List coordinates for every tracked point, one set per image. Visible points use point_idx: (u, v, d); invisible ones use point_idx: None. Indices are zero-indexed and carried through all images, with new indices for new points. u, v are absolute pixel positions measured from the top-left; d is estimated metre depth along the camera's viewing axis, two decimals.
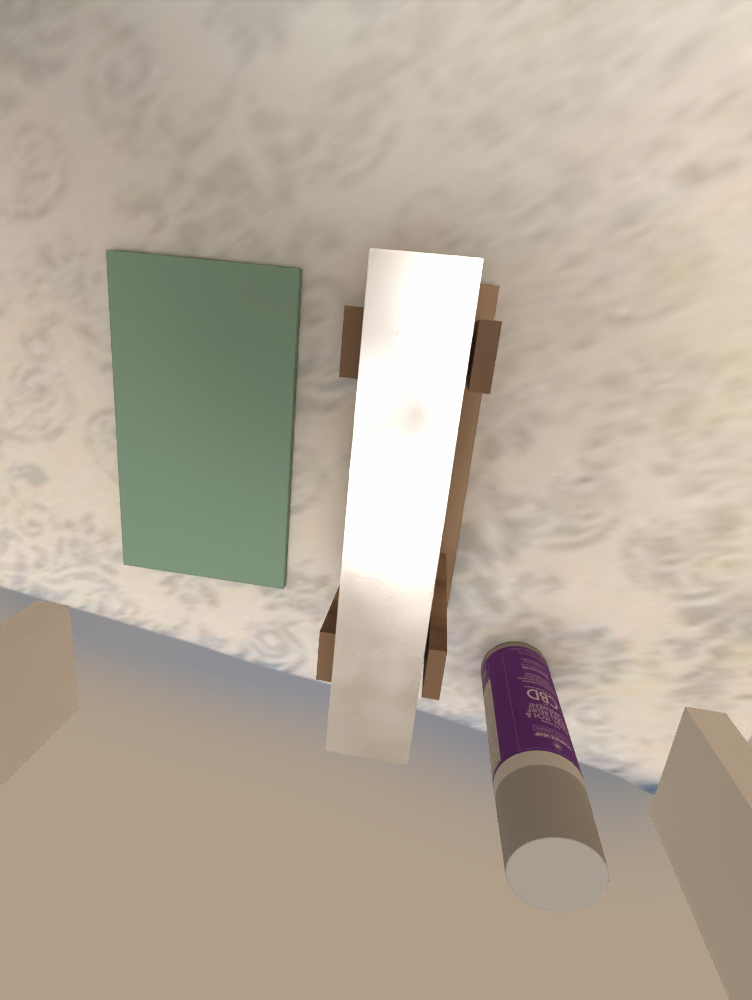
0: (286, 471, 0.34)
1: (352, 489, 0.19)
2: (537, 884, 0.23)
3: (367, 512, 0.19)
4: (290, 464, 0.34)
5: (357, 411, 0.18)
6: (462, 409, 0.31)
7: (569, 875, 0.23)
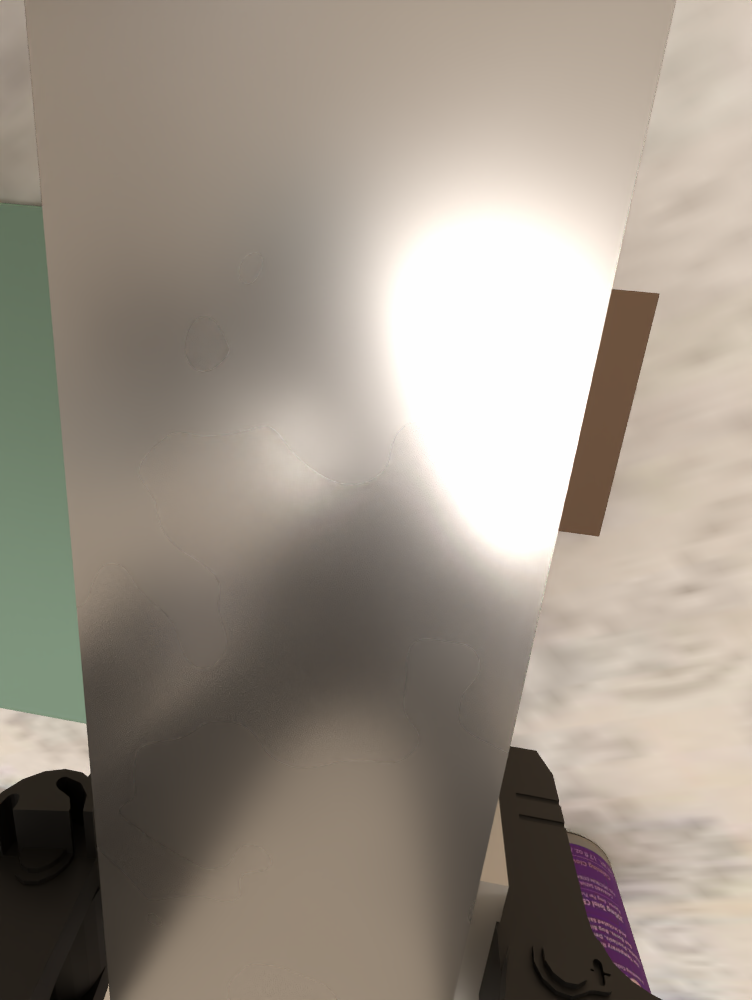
0: None
1: (114, 902, 0.05)
2: None
3: (176, 968, 0.05)
4: None
5: (91, 656, 0.04)
6: None
7: None
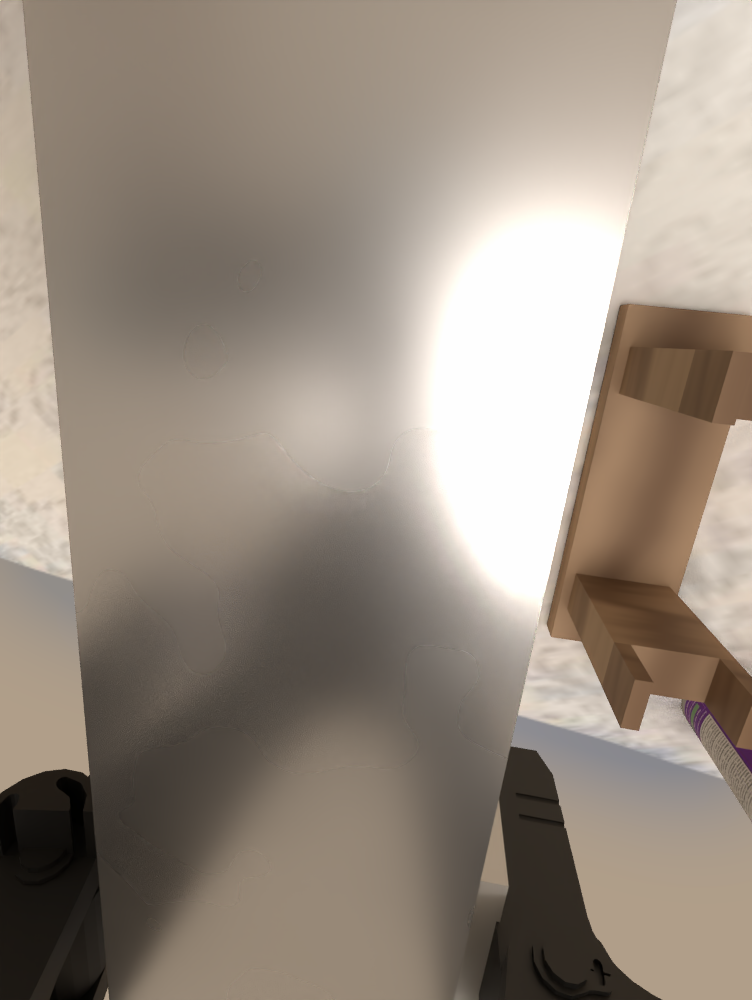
0: None
1: (114, 906, 0.05)
2: None
3: (175, 973, 0.05)
4: None
5: (91, 662, 0.04)
6: (707, 441, 0.30)
7: None
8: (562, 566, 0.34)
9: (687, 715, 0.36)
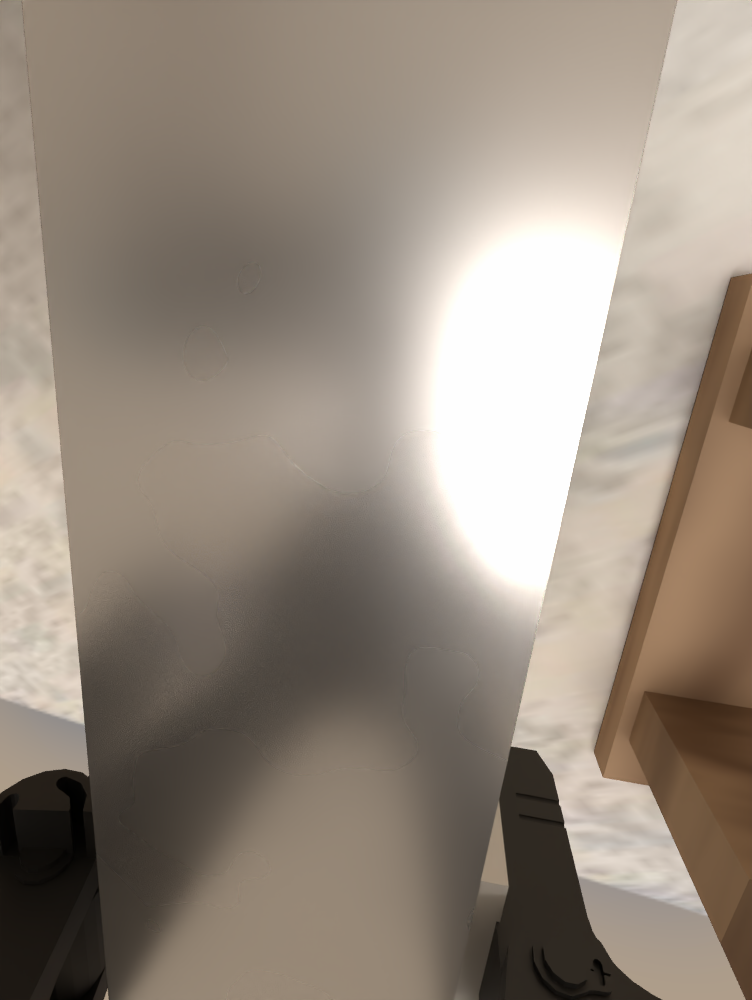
0: None
1: (113, 908, 0.05)
2: None
3: (175, 974, 0.05)
4: None
5: (90, 664, 0.04)
6: None
7: None
8: (620, 675, 0.23)
9: None
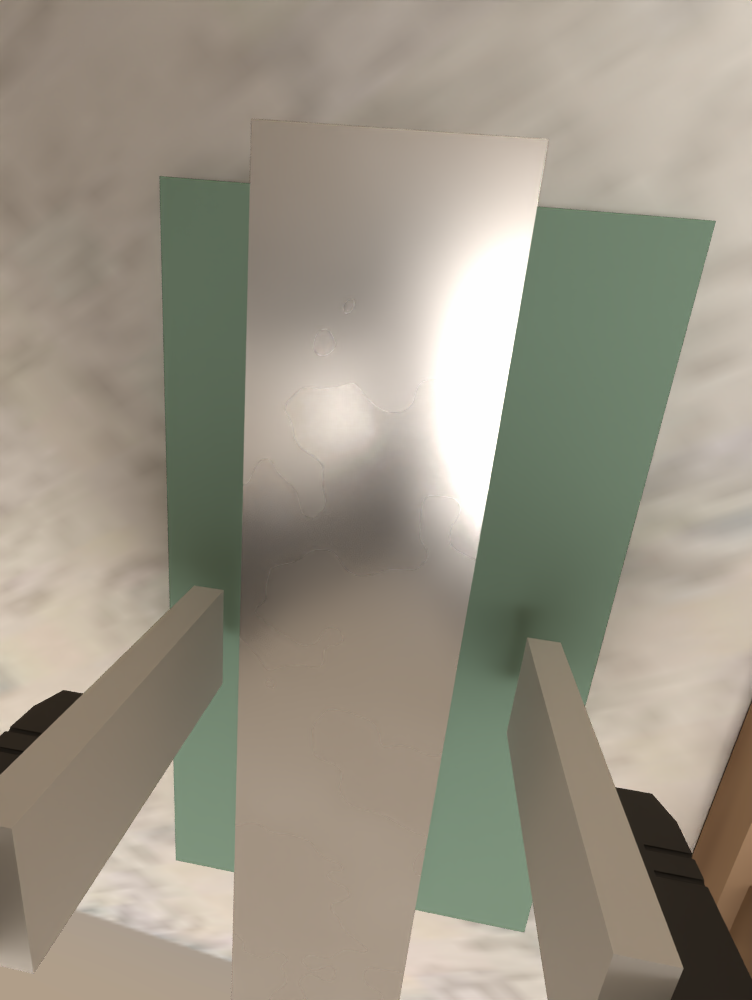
0: None
1: (247, 672, 0.09)
2: None
3: (280, 717, 0.09)
4: None
5: (248, 514, 0.08)
6: None
7: None
8: (706, 848, 0.15)
9: None
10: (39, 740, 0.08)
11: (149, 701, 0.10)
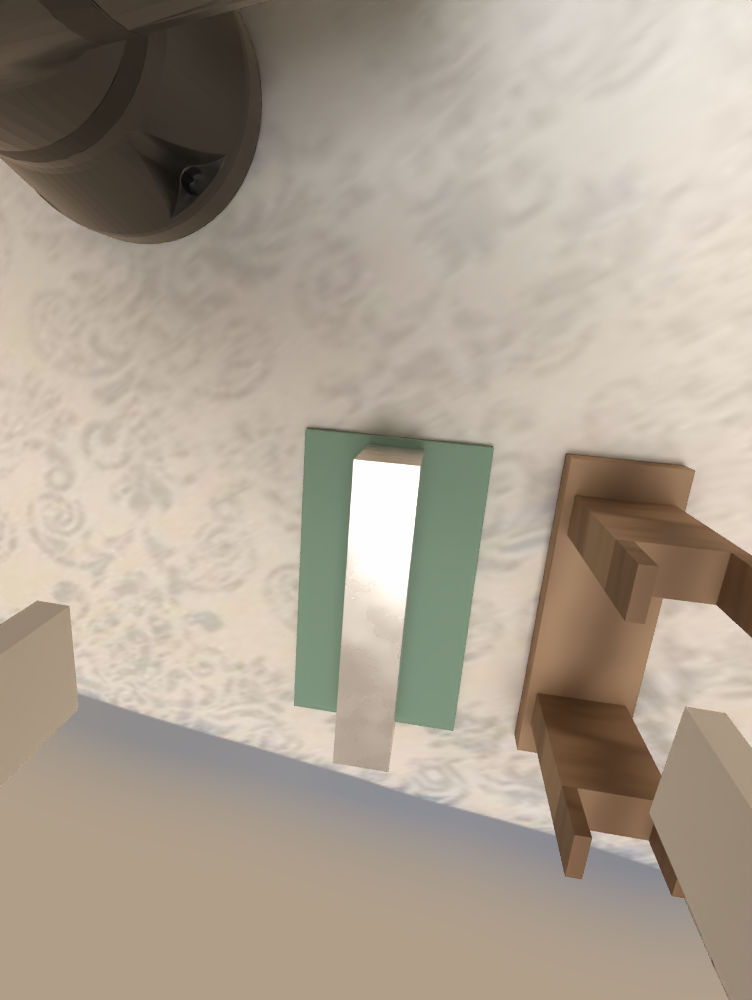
0: (465, 625, 0.36)
1: (347, 594, 0.30)
2: None
3: (356, 608, 0.30)
4: (468, 618, 0.36)
5: (349, 548, 0.30)
6: None
7: None
8: (525, 683, 0.36)
9: None
10: None
11: None
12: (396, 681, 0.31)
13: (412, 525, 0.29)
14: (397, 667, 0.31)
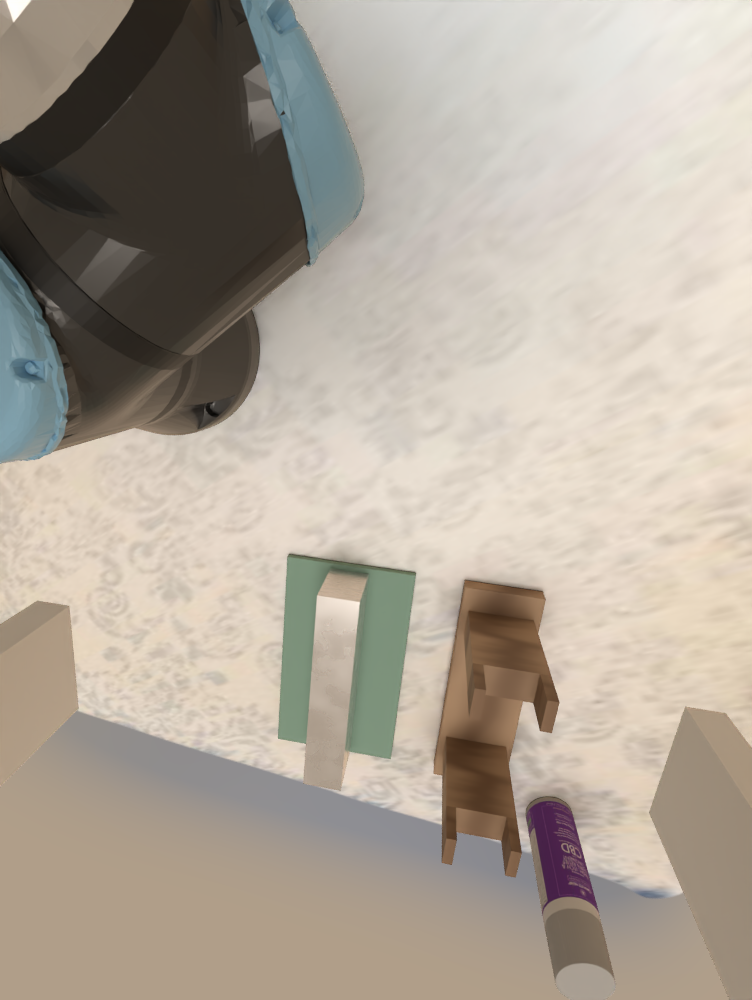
0: (398, 688, 0.51)
1: (312, 677, 0.46)
2: (574, 988, 0.40)
3: (319, 686, 0.46)
4: (400, 683, 0.51)
5: (314, 649, 0.45)
6: None
7: (592, 984, 0.40)
8: (440, 728, 0.52)
9: (527, 823, 0.54)
10: None
11: None
12: (345, 732, 0.47)
13: (355, 636, 0.44)
14: (346, 724, 0.47)
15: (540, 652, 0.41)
